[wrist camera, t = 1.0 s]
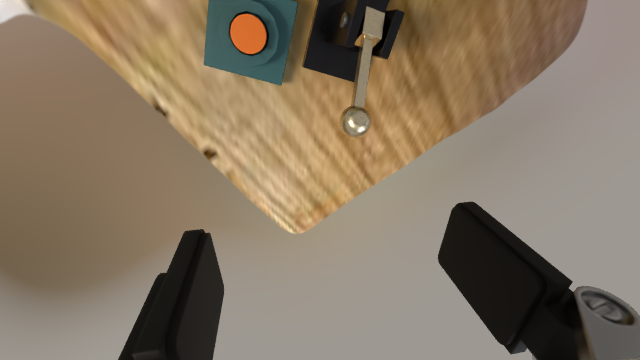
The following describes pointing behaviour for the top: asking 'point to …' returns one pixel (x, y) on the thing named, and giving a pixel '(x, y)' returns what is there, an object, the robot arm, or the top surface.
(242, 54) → the control block
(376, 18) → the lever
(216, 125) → the top surface
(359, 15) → the bracket
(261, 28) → the button
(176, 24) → the top surface
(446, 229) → the robot arm
